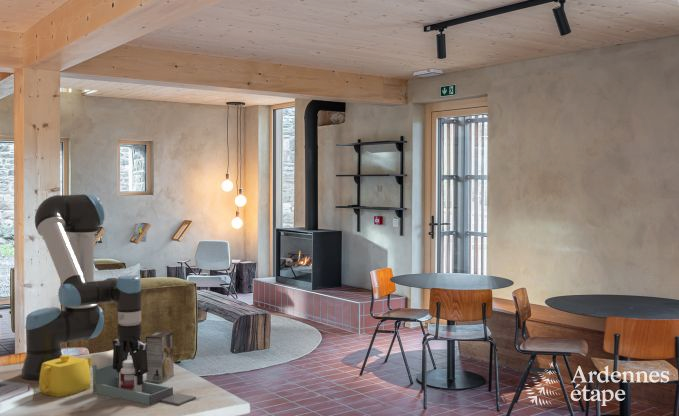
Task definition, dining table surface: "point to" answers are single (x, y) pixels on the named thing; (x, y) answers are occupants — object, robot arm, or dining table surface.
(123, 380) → the pill bottle
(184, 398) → the coaster
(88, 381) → the teapot
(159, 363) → the coffee box
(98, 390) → the teal rectangular frame
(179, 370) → the dining table surface
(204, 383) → the dining table surface
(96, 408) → the dining table surface
